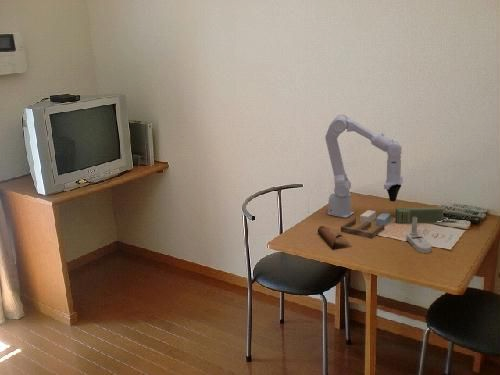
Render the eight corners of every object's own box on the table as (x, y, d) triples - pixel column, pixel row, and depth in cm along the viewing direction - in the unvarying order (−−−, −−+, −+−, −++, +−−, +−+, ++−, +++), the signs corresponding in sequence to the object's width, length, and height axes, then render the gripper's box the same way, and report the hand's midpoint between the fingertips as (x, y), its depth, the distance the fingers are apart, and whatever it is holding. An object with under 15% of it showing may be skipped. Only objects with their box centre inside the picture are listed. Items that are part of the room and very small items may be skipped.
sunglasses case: (354, 246, 207) (345, 234, 205) (339, 257, 207) (330, 244, 205) (336, 230, 224) (328, 218, 222) (322, 240, 224) (314, 228, 221)
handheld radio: (394, 221, 232) (454, 220, 230) (396, 224, 229) (457, 223, 227) (395, 206, 230) (456, 205, 228) (396, 209, 227) (458, 208, 225)
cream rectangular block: (367, 224, 230) (368, 216, 229) (360, 222, 232) (360, 215, 231) (375, 218, 236) (376, 211, 235) (368, 217, 238) (368, 210, 237)
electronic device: (421, 230, 196) (405, 215, 210) (419, 255, 199) (404, 238, 213) (435, 229, 196) (418, 214, 211) (433, 254, 200) (417, 237, 214)
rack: (340, 231, 223) (340, 226, 223) (353, 223, 231) (353, 218, 231) (372, 238, 215) (372, 233, 214) (384, 229, 223) (384, 224, 222)
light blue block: (384, 227, 226) (384, 219, 225) (375, 226, 228) (376, 218, 227) (390, 221, 232) (390, 213, 231) (382, 220, 234) (382, 212, 233)
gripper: (395, 175, 223) (394, 207, 227) (409, 167, 234) (408, 197, 238) (379, 173, 227) (378, 204, 231) (394, 166, 238) (393, 195, 242)
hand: (392, 200), depth 235 cm, fingers closed
